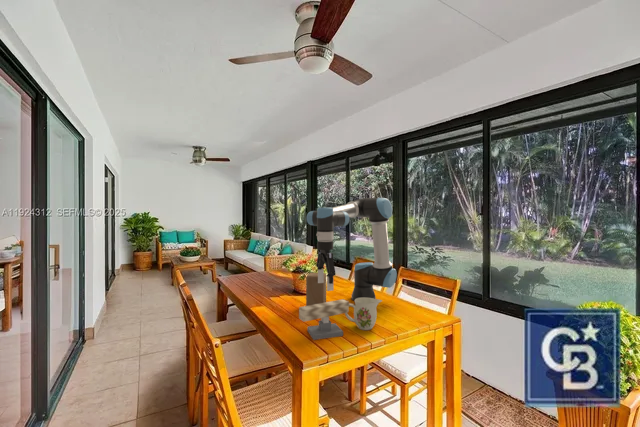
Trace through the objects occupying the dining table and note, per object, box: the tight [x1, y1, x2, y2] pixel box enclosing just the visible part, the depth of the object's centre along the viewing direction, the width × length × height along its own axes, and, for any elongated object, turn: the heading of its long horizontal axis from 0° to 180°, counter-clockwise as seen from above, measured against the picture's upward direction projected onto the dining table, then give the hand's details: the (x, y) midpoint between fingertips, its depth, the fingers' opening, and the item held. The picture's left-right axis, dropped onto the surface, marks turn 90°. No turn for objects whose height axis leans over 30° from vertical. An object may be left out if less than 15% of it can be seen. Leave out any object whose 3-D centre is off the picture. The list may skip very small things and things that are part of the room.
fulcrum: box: [307, 316, 344, 341], centre depth 136 cm, size 14×10×8 cm
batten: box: [298, 298, 350, 323], centre depth 136 cm, size 24×4×5 cm, turn 120°
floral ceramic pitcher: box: [344, 297, 383, 331], centre depth 143 cm, size 11×18×14 cm, turn 76°
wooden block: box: [305, 272, 327, 306], centre depth 169 cm, size 10×10×20 cm
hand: (325, 286), depth 136 cm, fingers open, 13 cm apart
